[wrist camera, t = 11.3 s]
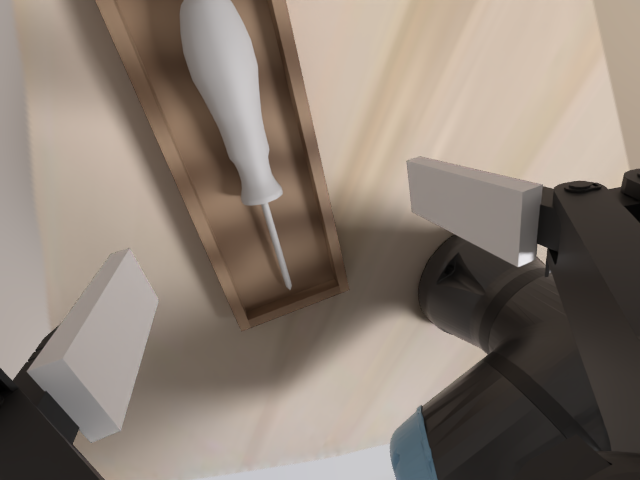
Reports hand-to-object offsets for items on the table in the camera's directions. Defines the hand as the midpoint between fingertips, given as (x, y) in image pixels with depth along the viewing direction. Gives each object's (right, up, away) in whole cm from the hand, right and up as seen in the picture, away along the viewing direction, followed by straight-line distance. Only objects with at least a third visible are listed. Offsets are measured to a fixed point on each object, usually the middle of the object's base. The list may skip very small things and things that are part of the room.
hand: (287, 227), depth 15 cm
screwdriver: (-4, +6, +13) cm, 15 cm away
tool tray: (-5, +6, +14) cm, 16 cm away
